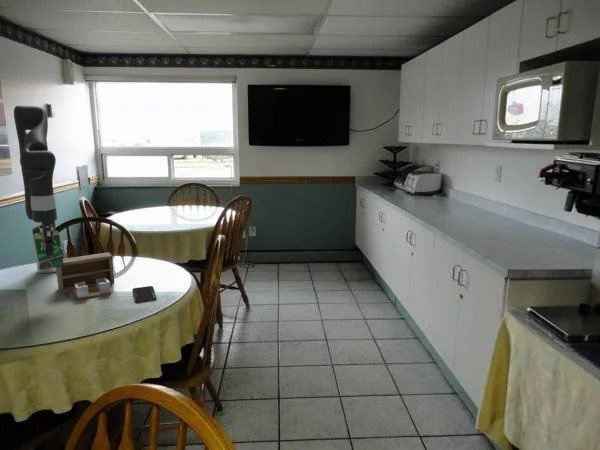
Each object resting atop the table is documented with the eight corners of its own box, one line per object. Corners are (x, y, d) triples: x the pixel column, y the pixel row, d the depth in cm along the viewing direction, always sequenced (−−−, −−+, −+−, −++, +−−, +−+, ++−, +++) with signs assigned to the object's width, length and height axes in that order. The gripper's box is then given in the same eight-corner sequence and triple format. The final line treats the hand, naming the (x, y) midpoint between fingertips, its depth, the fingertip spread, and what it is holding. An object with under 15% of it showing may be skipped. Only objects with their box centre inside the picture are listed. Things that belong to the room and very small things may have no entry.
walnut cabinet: (58, 288, 175) (55, 260, 172) (111, 279, 186) (108, 252, 184) (65, 302, 160) (62, 271, 157) (122, 291, 171) (119, 262, 169)
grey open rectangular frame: (74, 293, 167) (73, 283, 167) (106, 287, 174) (106, 277, 173) (77, 298, 162) (76, 288, 162) (110, 291, 169) (109, 282, 168)
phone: (152, 285, 176) (156, 298, 163) (152, 288, 176) (156, 301, 163) (132, 288, 173) (134, 301, 160) (132, 291, 173) (134, 304, 160)
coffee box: (38, 270, 155) (34, 234, 152) (37, 268, 157) (33, 233, 154) (63, 266, 159) (59, 231, 157) (62, 264, 162) (58, 230, 159)
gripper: (29, 205, 157) (35, 251, 161) (33, 211, 146) (39, 261, 150) (53, 203, 161) (58, 248, 165) (58, 209, 150) (64, 257, 154)
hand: (49, 254), depth 157 cm, fingers closed on coffee box, 3 cm apart
